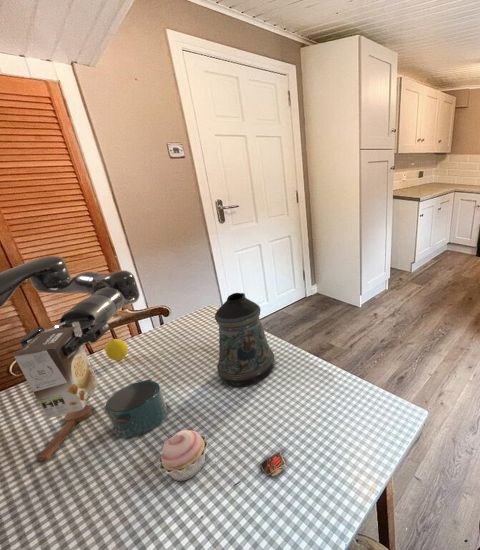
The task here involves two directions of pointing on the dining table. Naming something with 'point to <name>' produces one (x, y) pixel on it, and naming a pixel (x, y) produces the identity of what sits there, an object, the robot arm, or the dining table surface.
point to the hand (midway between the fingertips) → (42, 354)
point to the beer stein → (242, 343)
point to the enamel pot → (136, 408)
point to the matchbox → (273, 464)
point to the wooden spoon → (65, 431)
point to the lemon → (116, 349)
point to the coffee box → (57, 372)
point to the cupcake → (183, 455)
